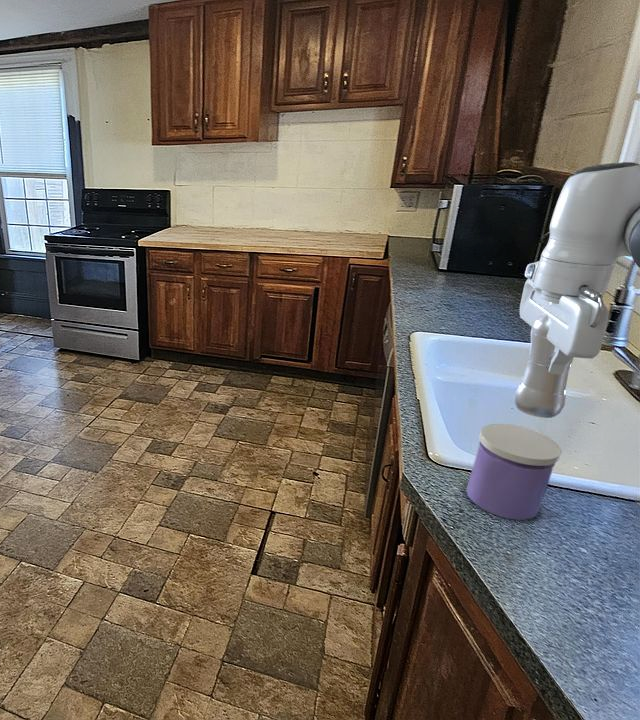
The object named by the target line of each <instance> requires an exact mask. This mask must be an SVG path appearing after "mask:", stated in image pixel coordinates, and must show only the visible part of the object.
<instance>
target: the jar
mask: <svg viewBox="0 0 640 720" xmlns="http://www.w3.org/2000/svg"><path fill="white" fill-rule="evenodd" d="M478 438H479V443H478V446H477V450H476V453H475V456H474V461H473V464H472V467H471V471H470V475H469V478H468V482H467V485H466V490H465V491H466V494H467V496H468V498H469V500H470V501H471V502H473V503H474V504H475V505H476V506H477V507H479V508H481V509H482V510H484V511H486V512H488V513H491V514H492V515H495V516H498V517H501V518H504V519H510V520H516V521H526V520H531V519H533V518H535V517H536V516H537V515H538V514H539V511H540V508H541V505H542V502H543V499H544V496H545V494H546V490H547V488H548V486H549V482H550V479H551V478H552V477H551V476H552V473H553V471H554V468H555V466H556V464H557V463H558V462H559V460H560V457H561V455H562V448H561V447H560V445H559V444H558V443H557V442H556V441H555V440H554V439H552V438H550V437H549V436H547V435H545V434H543V433H541V432H539V431H537V430H533V429H531V428H527V427H524V426H521V425H515V424H509V423H491V424H486V425H484V426H483V427H482V428H481V429H480V432H479V436H478Z"/></svg>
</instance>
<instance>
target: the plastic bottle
mask: <svg viewBox="0 0 640 720" xmlns="http://www.w3.org/2000/svg"><path fill="white" fill-rule="evenodd" d="M549 305H551V306H552V305H553V303H552V302H549ZM549 312H550V311H549ZM531 329H532V328H531ZM548 329H549V317H548V314H547V313H543V314H542V315H541V316H540V317H538V318H537V320H536V321H535V323H534V324H533V329H532V330H533V332H532V341H531V340H530V346H531V350H530V349H529V350H530V353H529V355H528V356H529V358H528V361H527V365H526V368H525V371H524V374H523V376H522V379H521V381H520V383H519V385H518V386H517V389H516V391H515V393H514V405H515V408H516V409H517V410H518V411H519V412H521V413H523V414H526V415H529V416H533V417H537V418H544V419H552V418H555V417H557V416H558V415H559V414H561V413H562V411H563V409H564V407H565V405H566V398H567V397H566V396H567V392H566V391H567V390H566V389H567V384H568V378H569V372H570V369H571V366H572V364H573V361H574V358H575V357H573V358H572V359H571V360H570V361H569V362H568V363H567V364H566V366H565V368H564V371H563V373H562V374H560V375H558V374H551V373H550V372H549V371H548V370H547V369H546V366H547V363H548V360H552V358H553V356H554V355H555V352H554V350H555V346H554V345H553V344H552V343H551V342H550V341H548V340H547V338H546V336H547V333H548Z"/></svg>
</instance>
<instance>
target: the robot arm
mask: <svg viewBox="0 0 640 720" xmlns="http://www.w3.org/2000/svg"><path fill="white" fill-rule="evenodd" d="M550 219H551V220H550V224H549V238H548V240H547V241H548V242H547V244H546V246H545V247H544V248H543V250H542V252H541V254H540V258H539V260H538V261H535V262H531V263H529V264H527V266H526V268H525V271H524V277H525V278H527V279H526V281H525V283H524V286H523V289H522V294H521V298H520V303H519V318H520V319H522V320H523V321H524V322H525V323H526V324H527V325H528V326H530V327H531V330H530V342H531V341H532V332H533V330H532V329H533V324H534V323H535V321H536V320H537V318H538V317H540V316H541V315H542V314H543V313H547V314H548V317H549V329H548V333H547V336H546V338H547V340H548V341H550V342H551V343H552V344H553V345H554V346H555V350H554V352H555V355H554V356H553V358H552V360H548V363H547V366H546V369H547V370H548V371H549V372H550V373H551V374H558V375H560V374H562V373H563V371H564V368H565V366H566V364H567V363H568V362H569V361H570V360H571V359H572V358H573V357H574V358H575V359H577V358H578V359H589V360H591V359H595V358H596V357H597V356H598V355H599V354H600V352H601V349H602V346H603V342H604V339H605V335H606V331H607V326H608V322H609V309H608V307H607V306H606V304H605V303H604V300H603V298H604V296H605V294H606V292H607V290H608V286H609V283H610V280H611V277H612V275H613V271H614V268H615V267H616V266H615V265H616V263H617V260H618V258H620V257H631V258H632V260H633V261H634V263H635V265H636V266H637V267H638V268H639V269H640V163H636V162H632V161H622V162H611V163H604V164H603V163H602V164H597V165H591V166H586V167H582V168H581V169H579V170H577V171H574V173H573V174H571V175H570V176H569V177H568V178H567V180H566V181H565V183H564V184H563V186H562V189H561V190H560V194H559V196H558V199H557V201H556V204H555V207H554V209H553V212H552V216H551V218H550ZM549 302H552V303H553V305H552V306H551V305H549ZM549 311H550V312H549ZM530 350H531V345H530V346H529V349H528V353H529V354H530ZM574 358H573V359H574Z"/></svg>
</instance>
